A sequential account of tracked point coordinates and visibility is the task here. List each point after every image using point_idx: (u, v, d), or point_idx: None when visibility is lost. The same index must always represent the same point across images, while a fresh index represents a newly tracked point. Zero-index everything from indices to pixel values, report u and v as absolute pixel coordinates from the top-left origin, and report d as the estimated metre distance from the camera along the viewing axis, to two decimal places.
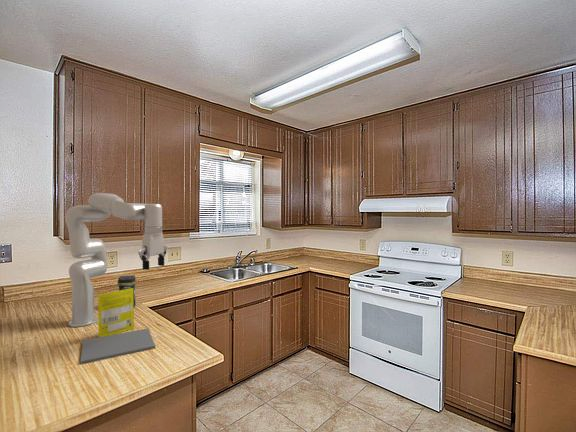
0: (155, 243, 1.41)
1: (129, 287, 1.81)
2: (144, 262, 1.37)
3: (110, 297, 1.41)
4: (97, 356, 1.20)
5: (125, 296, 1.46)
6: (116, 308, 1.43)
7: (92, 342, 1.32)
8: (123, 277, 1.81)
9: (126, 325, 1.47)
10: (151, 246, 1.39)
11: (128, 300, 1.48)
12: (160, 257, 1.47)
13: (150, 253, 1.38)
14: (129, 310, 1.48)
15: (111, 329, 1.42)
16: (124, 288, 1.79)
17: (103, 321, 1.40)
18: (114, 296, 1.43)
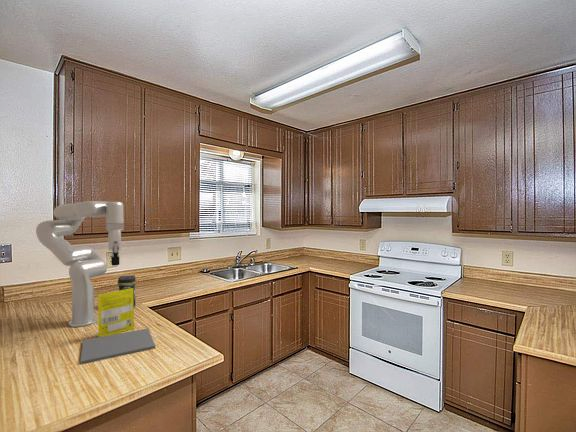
0: None
1: (129, 287, 1.81)
2: (115, 258, 1.48)
3: (110, 297, 1.42)
4: (97, 356, 1.20)
5: (125, 296, 1.46)
6: (116, 308, 1.43)
7: (92, 342, 1.32)
8: (123, 277, 1.81)
9: (126, 325, 1.47)
10: (120, 241, 1.49)
11: (128, 300, 1.48)
12: None
13: None
14: (129, 310, 1.48)
15: (111, 329, 1.42)
16: (124, 288, 1.79)
17: (103, 321, 1.40)
18: (114, 296, 1.43)
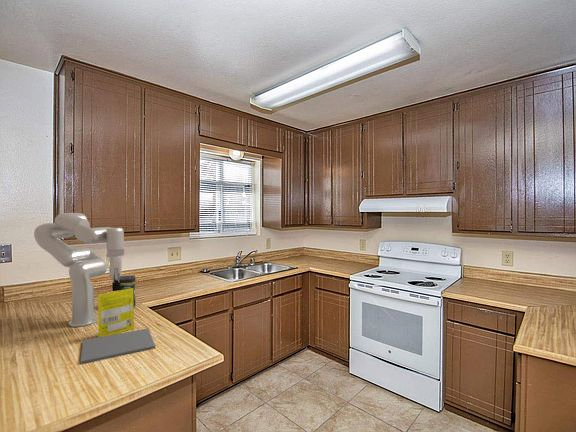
0: (121, 264, 1.51)
1: (129, 287, 1.81)
2: (116, 284, 1.50)
3: (110, 297, 1.42)
4: (97, 356, 1.20)
5: (125, 296, 1.46)
6: (116, 308, 1.43)
7: (92, 342, 1.32)
8: (123, 277, 1.81)
9: (126, 325, 1.47)
10: (121, 268, 1.49)
11: (128, 300, 1.48)
12: None
13: (120, 274, 1.49)
14: (129, 310, 1.48)
15: (111, 329, 1.42)
16: (124, 288, 1.79)
17: (103, 321, 1.40)
18: (114, 296, 1.43)
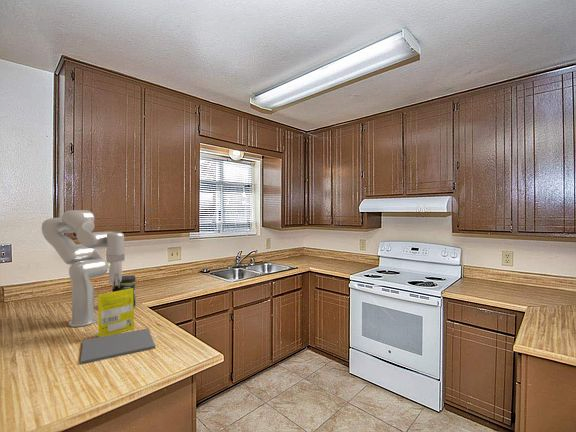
0: None
1: (129, 287, 1.81)
2: (116, 290, 1.47)
3: (110, 297, 1.42)
4: (97, 356, 1.20)
5: (125, 296, 1.46)
6: (116, 308, 1.43)
7: (92, 342, 1.32)
8: (123, 277, 1.81)
9: (126, 325, 1.47)
10: (121, 273, 1.46)
11: (128, 300, 1.48)
12: None
13: None
14: (129, 310, 1.48)
15: (111, 329, 1.42)
16: (124, 288, 1.79)
17: (103, 321, 1.40)
18: (114, 296, 1.43)
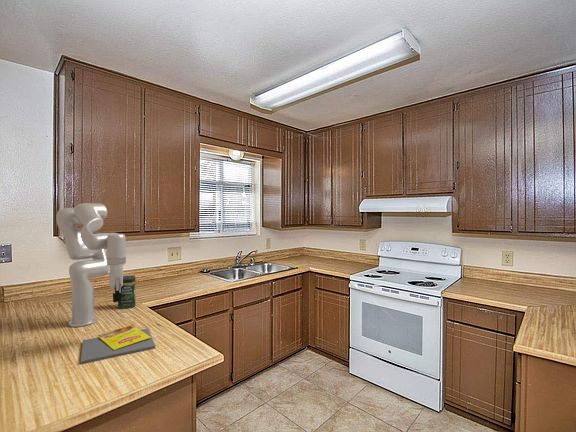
0: None
1: (129, 287, 1.81)
2: (117, 295, 1.39)
3: None
4: (97, 356, 1.20)
5: None
6: None
7: (92, 342, 1.32)
8: (123, 277, 1.81)
9: None
10: (122, 277, 1.38)
11: None
12: None
13: (122, 284, 1.38)
14: None
15: None
16: (124, 288, 1.79)
17: None
18: None
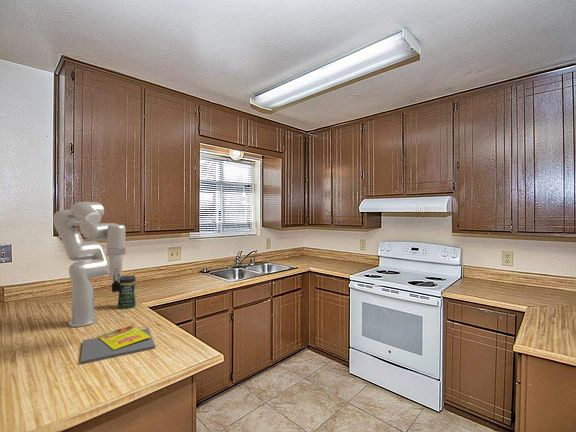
0: None
1: (129, 287, 1.81)
2: (116, 285, 1.41)
3: None
4: (97, 356, 1.20)
5: None
6: None
7: (92, 342, 1.32)
8: (123, 277, 1.81)
9: None
10: (121, 268, 1.40)
11: None
12: None
13: None
14: None
15: None
16: (124, 288, 1.79)
17: None
18: None
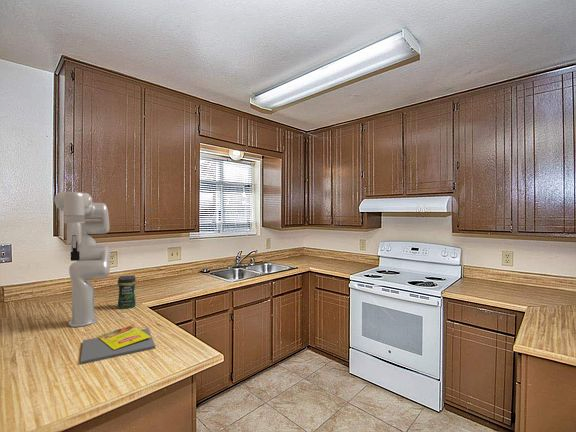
0: (81, 232, 1.39)
1: (129, 287, 1.81)
2: (75, 253, 1.38)
3: None
4: (97, 356, 1.20)
5: None
6: None
7: (92, 342, 1.32)
8: (123, 277, 1.81)
9: None
10: (80, 235, 1.37)
11: None
12: None
13: (79, 242, 1.36)
14: None
15: None
16: (124, 288, 1.79)
17: None
18: None
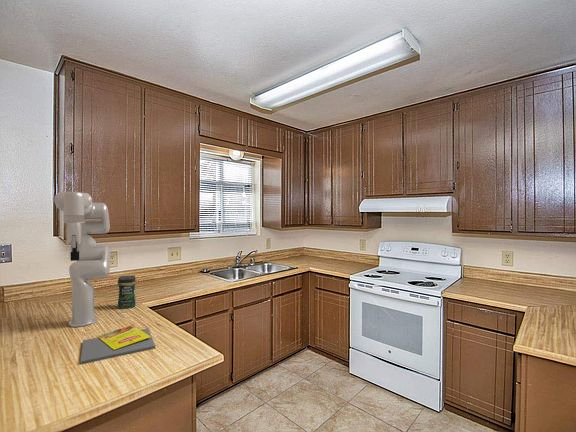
0: (80, 232, 1.39)
1: (129, 287, 1.81)
2: (74, 253, 1.38)
3: None
4: (97, 356, 1.20)
5: None
6: None
7: (92, 342, 1.32)
8: (123, 277, 1.81)
9: None
10: (80, 235, 1.37)
11: None
12: None
13: (79, 242, 1.36)
14: None
15: None
16: (124, 288, 1.79)
17: None
18: None
